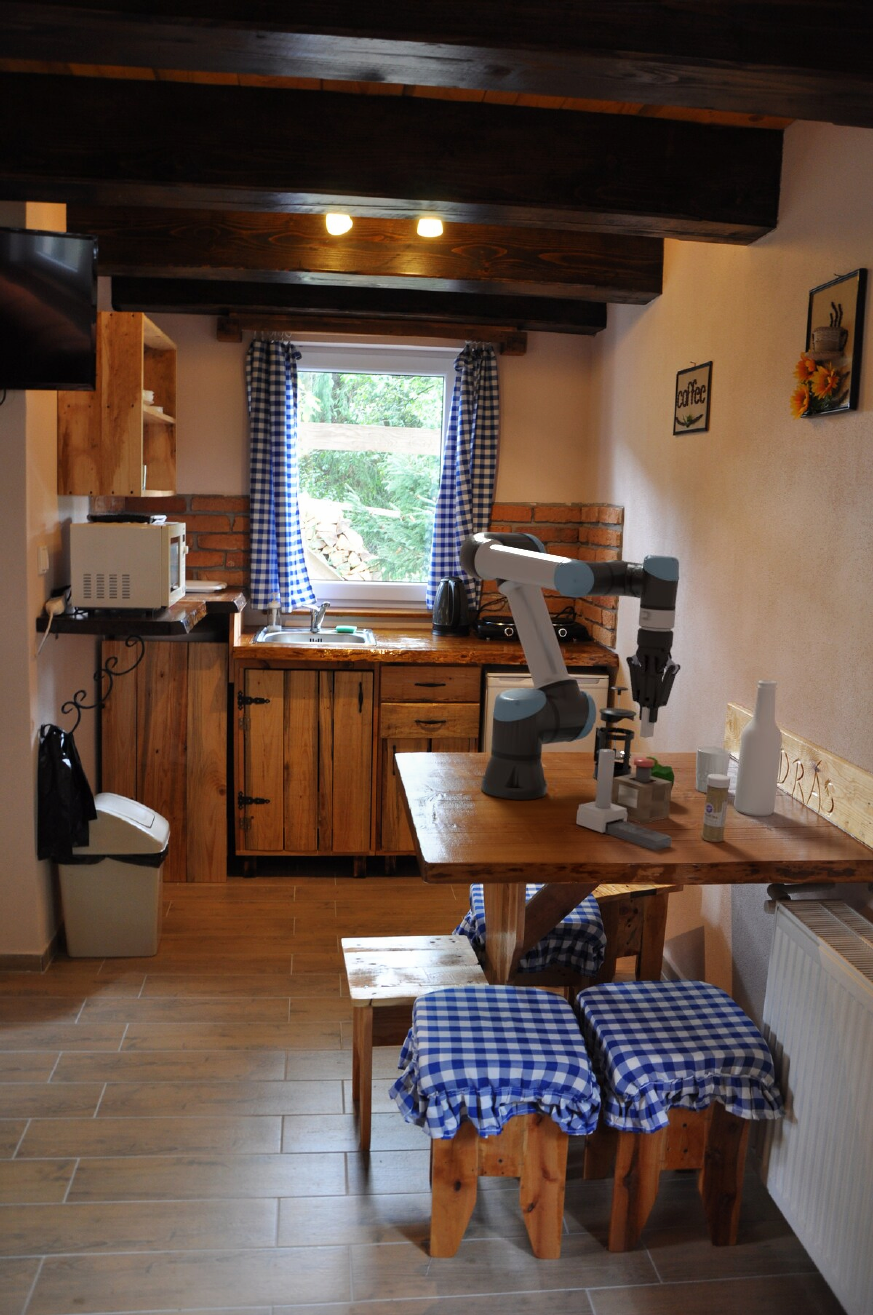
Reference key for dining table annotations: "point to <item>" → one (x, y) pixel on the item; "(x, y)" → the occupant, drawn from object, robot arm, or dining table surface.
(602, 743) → the french press
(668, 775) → the bell pepper
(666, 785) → the button box
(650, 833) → the rail
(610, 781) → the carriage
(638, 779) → the red button
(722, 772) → the white cup
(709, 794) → the sprinkles bottle
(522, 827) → the dining table surface
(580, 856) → the dining table surface
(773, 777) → the alcohol
